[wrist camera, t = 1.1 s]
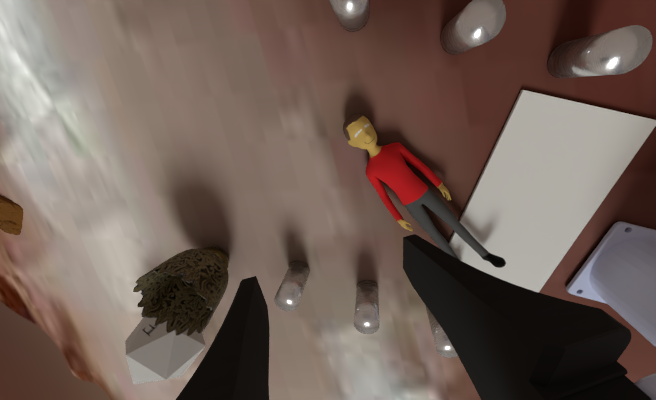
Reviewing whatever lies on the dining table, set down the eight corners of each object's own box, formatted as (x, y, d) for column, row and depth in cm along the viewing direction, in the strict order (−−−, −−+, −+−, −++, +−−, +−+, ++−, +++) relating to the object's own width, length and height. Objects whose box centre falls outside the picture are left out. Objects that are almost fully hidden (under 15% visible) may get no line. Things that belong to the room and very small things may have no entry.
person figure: (465, 297, 23) (327, 136, 20) (443, 276, 27) (324, 139, 24) (512, 259, 23) (379, 89, 19) (483, 243, 26) (367, 99, 23)
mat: (655, 120, 20) (659, 120, 20) (521, 312, 28) (523, 314, 28) (521, 89, 21) (523, 89, 20) (427, 286, 29) (428, 288, 28)
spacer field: (592, 45, 19) (663, 30, 14) (444, 319, 30) (457, 360, 25) (342, -9, 20) (333, -39, 15) (287, 275, 31) (273, 307, 26)
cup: (186, 223, 30) (126, 265, 23) (247, 237, 30) (206, 284, 22) (189, 274, 33) (137, 326, 26) (244, 288, 33) (208, 345, 25)
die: (229, 319, 36) (166, 335, 27) (203, 381, 35) (129, 418, 27) (190, 292, 40) (123, 299, 31) (166, 349, 39) (89, 372, 30)
